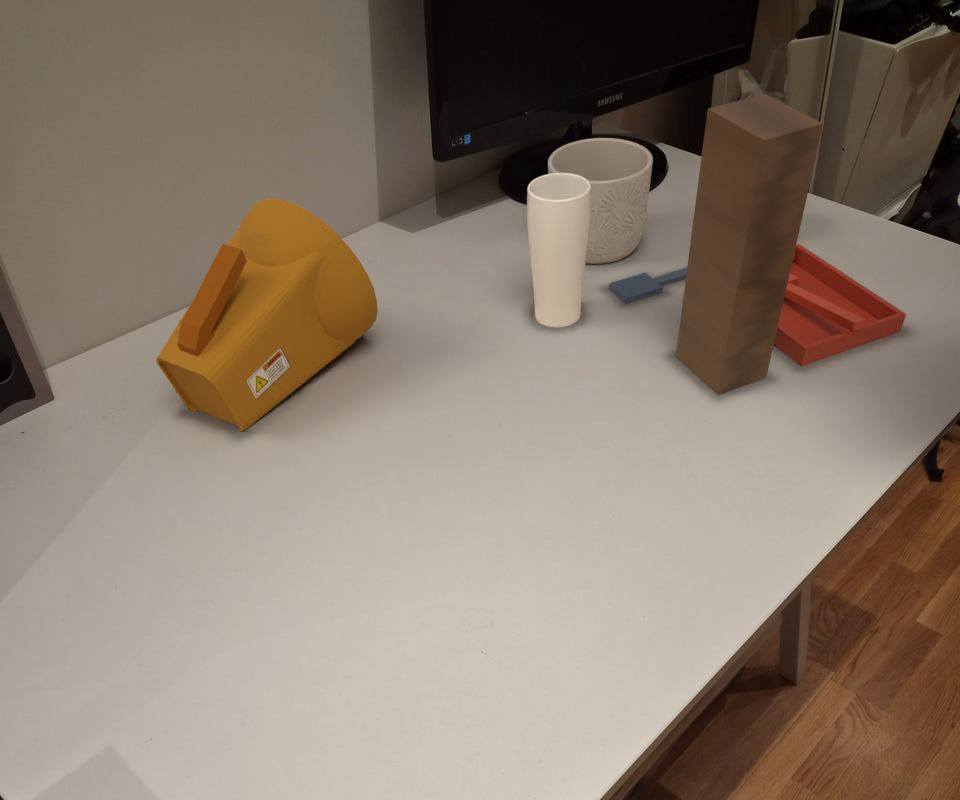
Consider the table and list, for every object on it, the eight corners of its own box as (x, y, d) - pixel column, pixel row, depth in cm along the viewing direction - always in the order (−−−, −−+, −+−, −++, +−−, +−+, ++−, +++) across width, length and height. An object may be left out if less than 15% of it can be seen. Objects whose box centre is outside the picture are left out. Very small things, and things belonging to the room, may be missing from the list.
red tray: (794, 264, 106) (798, 243, 104) (899, 335, 95) (906, 313, 93) (702, 293, 103) (705, 272, 101) (800, 370, 92) (805, 348, 90)
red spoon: (770, 274, 104) (771, 264, 103) (873, 324, 92) (875, 313, 91) (742, 283, 103) (743, 273, 102) (843, 335, 91) (845, 324, 90)
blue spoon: (608, 292, 104) (609, 283, 103) (727, 255, 108) (728, 246, 107) (625, 308, 102) (626, 298, 101) (746, 269, 106) (748, 260, 105)
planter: (638, 276, 106) (646, 184, 98) (539, 270, 109) (538, 179, 100) (650, 228, 114) (658, 139, 105) (557, 223, 116) (557, 135, 108)
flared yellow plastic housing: (285, 310, 106) (221, 178, 90) (396, 347, 99) (346, 211, 84) (183, 428, 100) (95, 308, 84) (293, 476, 93) (220, 355, 78)
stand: (720, 345, 96) (764, 93, 77) (765, 382, 91) (823, 123, 72) (674, 361, 95) (707, 108, 75) (717, 399, 90) (763, 140, 71)
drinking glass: (596, 325, 100) (603, 191, 88) (543, 340, 99) (542, 206, 87) (571, 298, 104) (574, 166, 92) (519, 312, 103) (516, 180, 91)
